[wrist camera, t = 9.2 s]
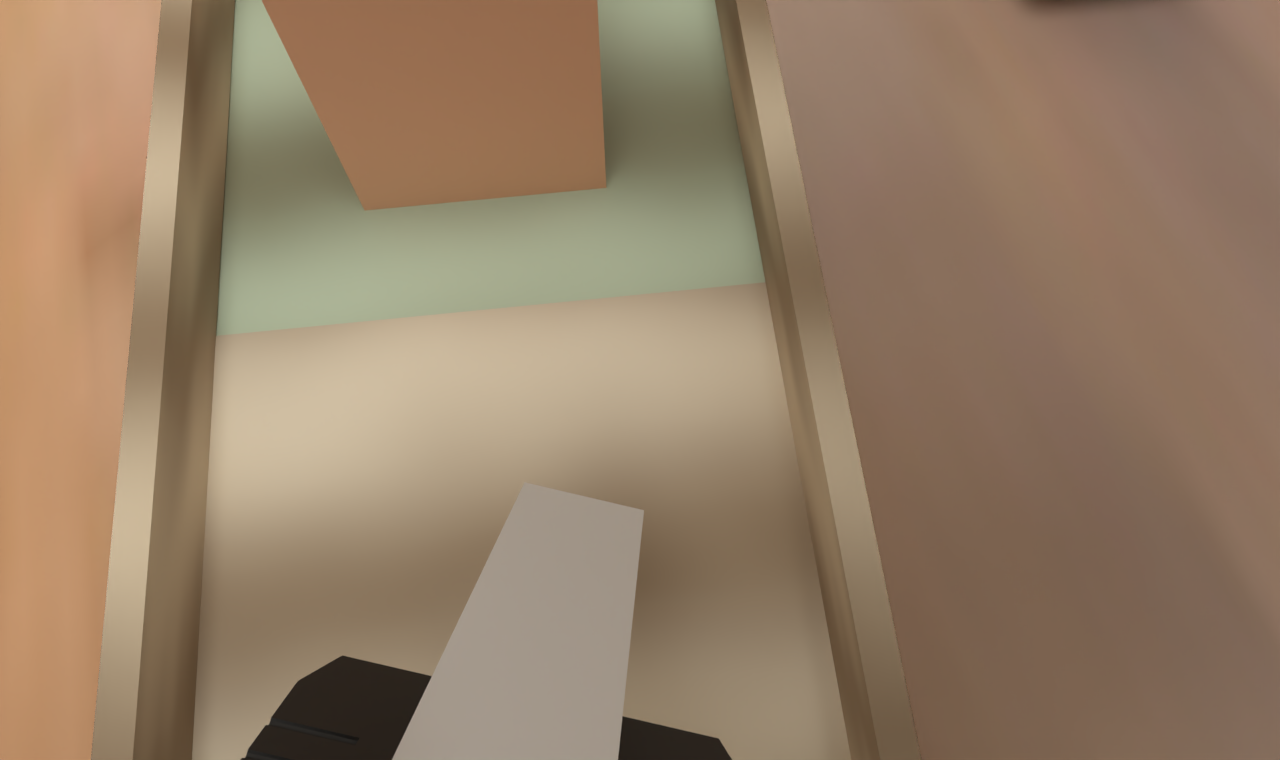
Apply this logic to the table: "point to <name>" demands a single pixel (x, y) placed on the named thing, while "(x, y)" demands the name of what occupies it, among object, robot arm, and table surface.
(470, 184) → the block
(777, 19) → the table surface
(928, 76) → the table surface
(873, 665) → the beige open frame
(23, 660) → the table surface
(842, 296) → the table surface
